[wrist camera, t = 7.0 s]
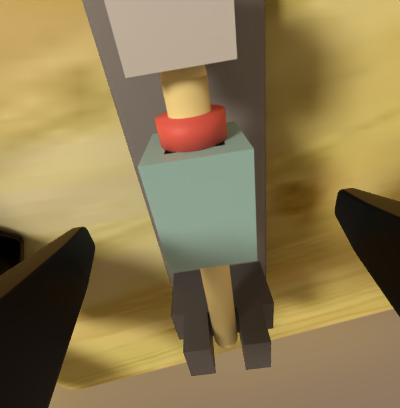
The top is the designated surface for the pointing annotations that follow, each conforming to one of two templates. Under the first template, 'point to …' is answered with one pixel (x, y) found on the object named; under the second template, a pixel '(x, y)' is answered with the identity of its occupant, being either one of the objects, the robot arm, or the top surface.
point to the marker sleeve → (203, 201)
